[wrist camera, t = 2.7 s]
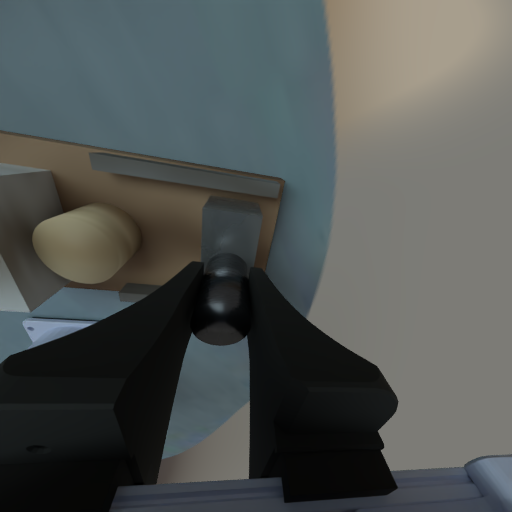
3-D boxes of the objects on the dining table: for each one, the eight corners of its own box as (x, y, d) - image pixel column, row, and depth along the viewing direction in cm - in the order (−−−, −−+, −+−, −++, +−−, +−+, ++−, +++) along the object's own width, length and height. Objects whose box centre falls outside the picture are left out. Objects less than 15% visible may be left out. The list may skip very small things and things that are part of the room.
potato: (144, 261, 14) (123, 286, 12) (84, 255, 14) (47, 280, 11) (138, 207, 12) (111, 223, 10) (68, 198, 12) (18, 211, 9)
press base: (257, 290, 18) (263, 341, 13) (45, 273, 16) (-42, 327, 11) (280, 178, 14) (303, 193, 9) (-15, 127, 11) (-212, 110, 6)
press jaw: (243, 288, 16) (246, 377, 10) (205, 285, 15) (183, 375, 9) (258, 202, 12) (275, 252, 6) (210, 195, 12) (180, 242, 6)
